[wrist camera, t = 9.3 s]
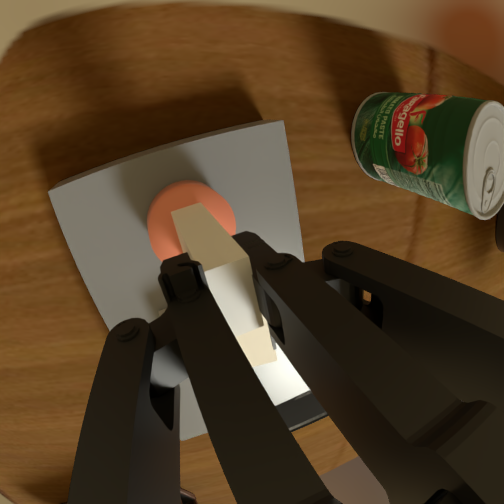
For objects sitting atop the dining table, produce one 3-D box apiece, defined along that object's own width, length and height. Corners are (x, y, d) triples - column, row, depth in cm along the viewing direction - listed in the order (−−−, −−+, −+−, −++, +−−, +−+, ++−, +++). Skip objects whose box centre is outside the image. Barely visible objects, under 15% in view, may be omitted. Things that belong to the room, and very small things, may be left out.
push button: (203, 163, 19) (225, 176, 15) (218, 226, 21) (243, 255, 17) (135, 184, 18) (137, 204, 14) (156, 247, 20) (164, 283, 16)
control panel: (263, 119, 20) (289, 120, 17) (302, 367, 31) (320, 391, 28) (58, 181, 17) (44, 194, 14) (175, 417, 28) (183, 447, 25)
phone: (357, 401, 38) (253, 446, 34) (353, 395, 39) (250, 440, 35) (365, 362, 34) (246, 412, 30) (360, 356, 35) (242, 405, 31)
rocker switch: (262, 296, 20) (267, 310, 18) (272, 346, 22) (277, 360, 20) (169, 318, 19) (167, 333, 18) (190, 364, 21) (190, 380, 20)
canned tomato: (354, 82, 21) (473, 83, 12) (417, 102, 24) (520, 116, 15) (345, 178, 24) (456, 221, 15) (408, 183, 27) (505, 220, 18)
